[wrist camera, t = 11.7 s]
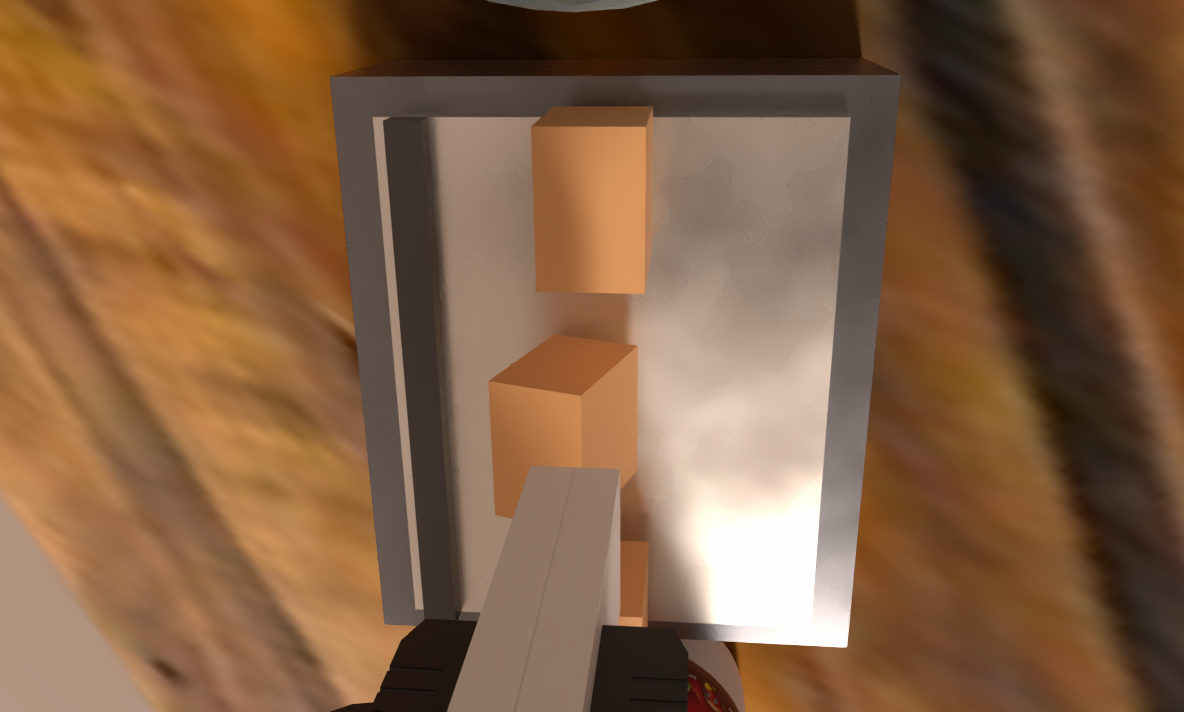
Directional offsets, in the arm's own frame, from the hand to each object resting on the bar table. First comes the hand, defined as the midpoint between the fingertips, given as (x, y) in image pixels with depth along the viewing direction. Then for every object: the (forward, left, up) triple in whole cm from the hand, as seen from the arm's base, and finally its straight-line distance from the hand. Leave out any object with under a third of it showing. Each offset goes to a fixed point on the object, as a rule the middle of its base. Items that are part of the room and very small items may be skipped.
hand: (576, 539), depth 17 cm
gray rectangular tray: (0, 0, -12) cm, 12 cm away
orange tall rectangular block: (0, -5, -7) cm, 8 cm away
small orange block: (0, 0, -7) cm, 7 cm away
